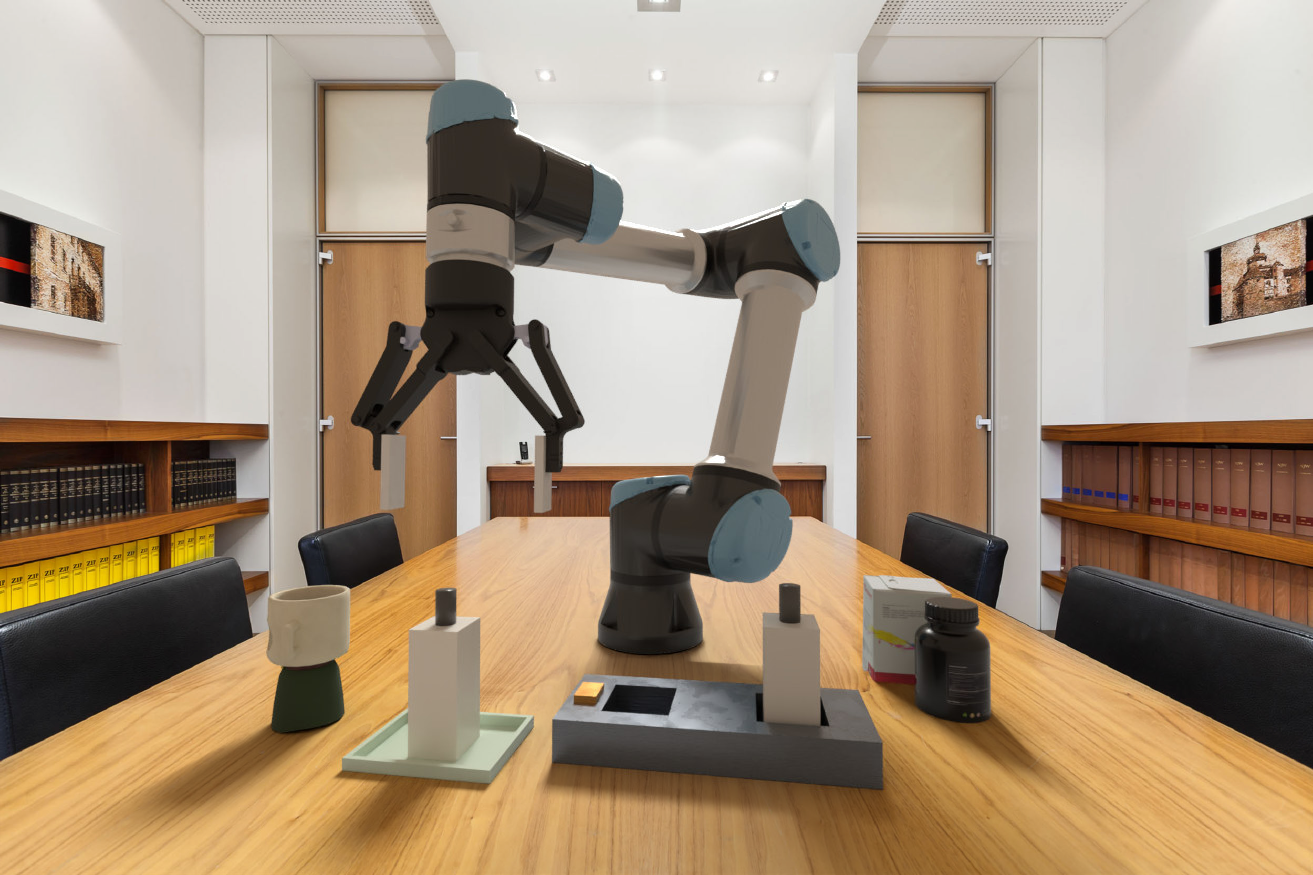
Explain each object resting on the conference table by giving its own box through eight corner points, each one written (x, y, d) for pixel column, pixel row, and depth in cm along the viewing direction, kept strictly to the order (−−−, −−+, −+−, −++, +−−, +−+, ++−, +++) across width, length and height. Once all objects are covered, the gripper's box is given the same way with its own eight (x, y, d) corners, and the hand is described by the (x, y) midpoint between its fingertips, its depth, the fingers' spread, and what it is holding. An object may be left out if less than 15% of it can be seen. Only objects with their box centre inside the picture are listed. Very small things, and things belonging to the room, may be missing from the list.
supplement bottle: (902, 709, 63) (901, 594, 63) (964, 706, 63) (963, 592, 63) (938, 741, 56) (937, 611, 56) (1007, 738, 56) (1006, 610, 57)
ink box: (955, 701, 65) (954, 591, 65) (871, 695, 66) (871, 587, 67) (934, 672, 73) (934, 575, 73) (861, 667, 75) (860, 572, 75)
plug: (434, 732, 56) (435, 583, 57) (479, 736, 56) (480, 585, 56) (407, 757, 52) (408, 595, 52) (456, 761, 51) (457, 596, 51)
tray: (409, 721, 60) (409, 706, 60) (533, 731, 58) (533, 715, 58) (341, 776, 50) (342, 758, 50) (489, 789, 48) (489, 770, 48)
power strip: (584, 724, 59) (584, 667, 59) (858, 744, 55) (858, 683, 55) (552, 780, 49) (552, 711, 49) (883, 809, 45) (882, 734, 45)
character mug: (293, 703, 64) (295, 581, 64) (364, 699, 65) (366, 579, 65) (240, 755, 53) (241, 608, 53) (326, 749, 54) (327, 605, 55)
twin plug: (762, 735, 54) (762, 578, 54) (814, 739, 53) (813, 580, 53) (764, 761, 49) (763, 590, 49) (820, 765, 49) (819, 592, 49)
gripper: (309, 258, 50) (303, 511, 50) (602, 251, 48) (599, 516, 47) (361, 283, 58) (356, 504, 57) (617, 278, 55) (614, 508, 55)
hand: (466, 510), depth 52 cm, fingers open, 13 cm apart
